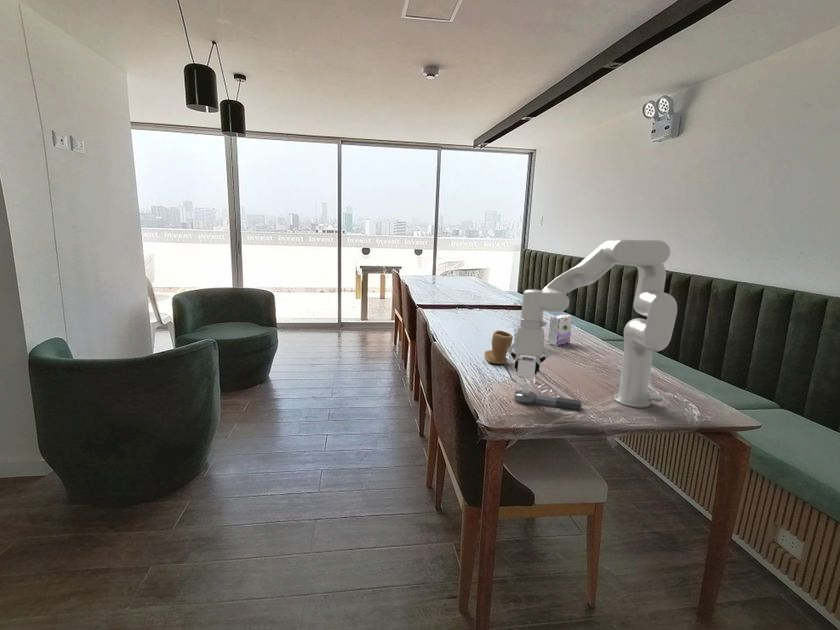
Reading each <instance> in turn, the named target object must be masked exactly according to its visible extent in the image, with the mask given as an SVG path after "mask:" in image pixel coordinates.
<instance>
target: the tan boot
mask: <svg viewBox="0 0 840 630" xmlns="http://www.w3.org/2000/svg"><path fill="white" fill-rule="evenodd" d="M513 340H514V336H513V335H512V333H510V332H507V331H505V330H495V331H494V332H493V334H492V337H491V350H485V351H484V356H485V359H486V360H487V361H488V362H489V363H492V364H494V365H497V364H499V365H504V364H507V362H508V359H507V354H508V351H507V349H508V348H509V347H510V346H511V345H512V344H513Z"/></svg>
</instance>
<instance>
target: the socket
mask: <svg viewBox="0 0 840 630" xmlns="http://www.w3.org/2000/svg"><path fill="white" fill-rule="evenodd" d="M536 362H537V361H536V357H535V356H527V355H520V357H519V361H518V372H517V374H516V376H517V377H523V378H531V379H535V376H536V375H535V366H536Z"/></svg>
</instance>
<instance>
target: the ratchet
mask: <svg viewBox="0 0 840 630" xmlns="http://www.w3.org/2000/svg"><path fill="white" fill-rule="evenodd" d="M530 387H531V382H522V387H521V390H520V389H519V390H516V391H514V397H513V399H514V400H513V401H514V402H516V403H517V404H521V405H526V406H531V405H541V406H547V407H555V408H559V409H566V410H573V411H582V407H583V406H582V405H583V403H582V401H581V400H579V399H573V398H572V399H571V398H565V397H558V396H557V397H551V396H545V395H538V394H537V393H535V392H534V391H531V388H530Z"/></svg>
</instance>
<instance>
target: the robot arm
mask: <svg viewBox="0 0 840 630" xmlns="http://www.w3.org/2000/svg"><path fill="white" fill-rule="evenodd" d="M670 256H671V248H670V246H669V245H668V244H667V242H665V241H663V240H659V239H626V238H625V239H624V238H622V239H621V238H620V239H619V238H614V239H613V238H610V239H607V240H606V241H604V242H602V243H601V244H600V245H599V246H598V247H596V248H595V249H594V250H593V251H592V252H590V254H588V255H587V256H586V257H584V258H583V259H582V260H581V261H580V262H579V263H578V264H576V265H575V266H573V267H572V268H570V269H568V270H567V271H565V272H563V273H561V274H560V275H559V276H557V277H555V278H554V279H553V280H551V282H549V283H548V284H547V285H546V286H545V287H544V288H542V290H541V289H530V288H529V289H525V290H524V291H523V293H522V294H523V295H522V305H521V315H520V322H519V323H520V325H518V327H517V329H516V334H515V340H514V343H512V344H511V346H510V347H509V348H508V349H507V353H508V354H509V355H510V356H511V358H513V361H514V369H515V372H518V361H519V358H520V356H528V357H534V358H536V366H535V376H536V375H538V373H539V372H540V365H541V363H543V362H544V361H546V360H547V359H548V358H550V357H551V353H550V352H549V350H548V349H547V348H546V347H545V329H544V328H543V327H547V322H545V321H544V320H543V319H544V318H543V317H544V311H545V312H550V313H551V312H552V313H562V312H565V310H567V309H568V308H569V306H570V298H569V297H568V295H567V294H569V293H570V292H572V291H574V290H575V289H579V288H582V287H586V286H590V285H592V284H594V283H596V282H597V281H598V280H599V279H600V278H601V277H602V276H604V275H605V274H606V273H607V272H608V271H610V269H612V268H613V267H614V266H615V265H617V266H618V265H620V266H635V267H636V268H637V271H638V279H637V281H638V282H637V286H636V290H635V294H634V295H635V296H634V300H633V309H634V310H635V312H636V313H637V314H639V315H642V316H643V317H646V318H645V319H644V318H642V317H641V318H639V317H637V318H633V319H631V320H629V321H628V322H627V323H626V324H625V326H624V328H623V345H624V346H623V356H622V363H621V365H622V366H621V371H620V378H619V379H620V381H619V386H618V387H619V389H618V392H617V393H614V395H613V400H615V402H617V403H618V404H621V405H624V406H627V407H632V408H639V409H641V408H643V409H644V408H648V407H650V406H651V405H652V402H653V401H655V402H661V403H662V399H663V397H662V396H661V395H657V394H655V393H650V392H649V385H650V380H651V379H650V378H651V371H652V363H653V352H660V351H662V350H665V349H666V348H667V347H668V345H669V344H670V342H671V340H672V335H673V332H674V328H675V322H676V319H677V314H678V304H677V301H676V299H675V298H674V297H673V295H671V294H669V293H667V292H664V291H665V286H666V279H667V272H666V267H665V263H666V262H667V261H668V259H669V258H670ZM513 350H514V351H513ZM543 354H544V355H543ZM541 356H542V357H541Z"/></svg>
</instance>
